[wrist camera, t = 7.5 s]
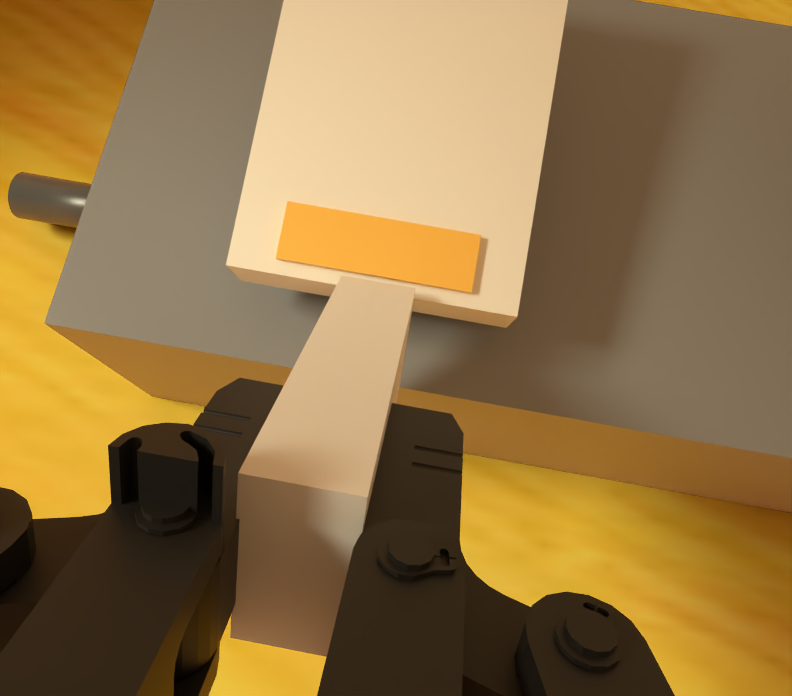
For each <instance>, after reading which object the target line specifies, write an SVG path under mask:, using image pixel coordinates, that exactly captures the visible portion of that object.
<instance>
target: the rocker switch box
mask: <svg viewBox="0 0 792 696" xmlns="http://www.w3.org/2000/svg"><path fill="white" fill-rule="evenodd" d="M283 1H284V0H154V3H153V6H152V9H151V12H150V14H149V17H148V20H147V23H146V26H145V29H144V32H143V35H142V38H141V41H140V44H139V47H138V50H137V53H136V56H135V59H134V61H133V64H132V67H131V70H130V73H129V76H128V79H127V82H126V85H125V88H124V91H123V94H122V97H121V100H120V103H119V106H118V108H117V111H116V114H115V117H114V120H113V123H112V126H111V129H110V132H109V135H108V138H107V141H106V144H105V147H104V150H103V153H102V155H101V158H100V161H99V164H98V167H97V170H96V173H95V176H94V179H93V182H92V184H87V183H81V182H76V181H70V180H64V179H59V178H53V177H47V176H42V175H36V174H30V173H24V172H21V173H18V174H17V175H16V176H15V177H14V178H13V180H12V181H11V184H10V187H9V192H8V202H9V206H10V209H11V211H12V213H13V214H14V215H15V216H16V217H18V218H23V219H28V220H34V221H40V222H45V223H51V224H57V225H62V226H68V227H74V228H77V229H76V232H75V235H74V238H73V241H72V244H71V247H70V249H69V252H68V255H67V258H66V261H65V264H64V267H63V270H62V273H61V276H60V279H59V282H58V285H57V288H56V291H55V294H54V296H53V299H52V302H51V305H50V308H49V311H48V314H47V317H46V320H45V324H46V325H48V326H49V327H51V328H52V329H53V330H55V331H56V332H58V333H59V334H61V335H62V336H64V337H65V338H67V339H68V340H70V341H71V342H73V343H74V344H76V345H77V346H78V347H80V348H81V349H83V350H84V351H86V352H87V353H89V354H90V355H92V356H93V357H95V358H96V359H98V360H99V361H101V362H102V363H104V364H105V365H106V366H108V367H109V368H111V369H112V370H114V371H115V372H117V373H118V374H120V375H121V376H123V377H124V378H126V379H127V380H129V381H130V382H131V383H133V384H134V385H136V386H137V387H139V388H140V389H142V390H143V391H145V392H146V393H148V394H149V395H151V396H153V397H159V398H164V399H170V400H175V401H181V402H186V403H192V404H197V405H203V406H207V404H208V403H209V401H210V400H211V398H212V397H213V395H214V394H215V393H216V391H217V390H219V389H221V388H222V387H224V386H226V385H228V384H229V383H231V382H233V381H235V380H236V379H238V378H245V379H250V380H256V381H261V382H267V383H272V384H278V385H283V386H284V384H285V383H286V381H287V379H288V377H289V375H290V373H291V371H292V369H293V367H294V365H295V363H296V362H297V360H298V358H299V356H300V354H301V352H302V350H303V348H304V346H305V344H306V342H307V341H308V339H309V337H310V335H311V333H312V331H313V329H314V327H315V325H316V323H317V321H318V319H319V318H320V316H321V314H322V312H323V310H324V308H325V306H326V304H327V302H328V300H329V298H330V297H329V296H324V295H318V294H312V293H307V292H301V291H296V290H290V289H284V288H279V287H273V286H268V285H262V284H256V283H251V282H245V281H241V280H240V279H239V278H238V277H237V276H236V275H235V274H234V273H233V272H232V271H231V270H230V269H229V268H228V267H227V266H226V262H227V257H228V253H229V248H230V244H231V239H232V234H233V230H234V225H235V221H236V216H237V212H238V207H239V202H240V198H241V193H242V189H243V184H244V179H245V175H246V170H247V166H248V161H249V157H250V152H251V147H252V143H253V138H254V134H255V129H256V124H257V120H258V115H259V111H260V106H261V102H262V97H263V92H264V88H265V83H266V79H267V74H268V69H269V65H270V60H271V56H272V51H273V47H274V42H275V37H276V33H277V28H278V24H279V19H280V14H281V10H282V5H283ZM397 404H400V405H406V406H412V407H417V408H423V409H428V410H434V411H439V412H445V413H450V414H452V415H453V417H454V418H455V420H456V422H457V423H458V425H459V427H460V428H461V430H462V432H463V433H464V437H463V453H466V454H472V455H477V456H483V457H488V458H494V459H499V460H505V461H510V462H516V463H521V464H526V465H532V466H537V467H543V468H548V469H554V470H559V471H565V472H570V473H576V474H581V475H587V476H592V477H598V478H603V479H609V480H614V481H620V482H625V483H631V484H636V485H642V486H647V487H653V488H658V489H664V490H669V491H675V492H680V493H686V494H691V495H697V496H702V497H708V498H713V499H719V500H724V501H729V502H735V503H740V504H746V505H751V506H757V507H762V508H768V509H773V510H779V511H784V512H790V513H792V27H791V26H785V25H779V24H773V23H767V22H761V21H755V20H749V19H743V18H737V17H731V16H725V15H719V14H713V13H707V12H701V11H695V10H689V9H683V8H677V7H671V6H665V5H659V4H653V3H647V2H641V1H635V0H568V4H567V10H566V16H565V22H564V29H563V35H562V41H561V47H560V54H559V60H558V66H557V72H556V79H555V85H554V91H553V97H552V104H551V110H550V116H549V122H548V129H547V135H546V141H545V147H544V154H543V160H542V166H541V172H540V179H539V185H538V191H537V197H536V204H535V210H534V216H533V222H532V229H531V235H530V241H529V247H528V254H527V260H526V266H525V272H524V279H523V285H522V291H521V297H520V304H519V310H518V316H517V318H516V319H515V320H514V321H513V322H512V323H511V324H510V325H509V326H508V327H507V328H504V327H498V326H492V325H487V324H481V323H476V322H470V321H464V320H459V319H453V318H447V317H442V316H436V315H431V314H425V313H419V312H414V311H412V314H411V320H410V326H409V332H408V338H407V344H406V350H405V356H404V362H403V368H402V374H401V380H400V386H399V392H398V398H397Z"/></svg>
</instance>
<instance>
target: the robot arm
mask: <svg viewBox="0 0 792 696" xmlns="http://www.w3.org/2000/svg"><path fill="white" fill-rule="evenodd" d="M415 290H416V288H411V287H405V286H400V285H394V284H388V283H382V282H377V281H371V280H365V279H360V278H354V277H348V276H343V275H342V276H341V277H340V279H339V281H338V283H337V285H336V287H335V289H334V291H333V293H332V295H331V297H330V298H329V300H328V302H327V304H326V306H325V308H324V310H323V312H322V314H321V316H320V318H319V319H318V321H317V323H316V325H315V327H314V329H313V331H312V333H311V335H310V337H309V339H308V341H307V342H306V344H305V346H304V348H303V350H302V352H301V354H300V356H299V358H298V360H297V362H296V363H295V365H294V367H293V369H292V371H291V373H290V375H289V377H288V379H287V381H286V383H285V384H284V386H283V385H278V384H272V383H267V382H261V381H256V380H250V379H245V378H238V379H236V380H235V381H233V382H231V383H229V384H228V385H226V386H224V387H222V388H221V389H219V390H217V391H216V393H215V394H214V395H213V397H212V398H211V400H210V401H209V403H208V404H207V406H206V407H205V408H204V412H203V413H201V414H200V416H199V417H198V419H197V420H196V421H195V423H194V426H192V425H189V424H179V423H160V424H153V425H146V426H142V427H139V428H137V429H134V430H131V431H129V432H126V433H124V434H122V435H121V436H120V437H118V438H117V439H116V440H114V441H113V442H112V443H111V444H109V445H108V451H109V469H110V486H111V504H110V506H109V507H108V509H107V510H106V511H105V513H102V514H98V515H91V516H83V517H69V518H48V519H32V512H31V510H30V507H29V504H28V502H27V499H25V498H24V497H22V496H21V495H19V494H18V493H16V492H15V491H13V490H10V489H6V488H1V487H0V696H208V695H209V692H210V690H211V687H212V685H213V682H214V680H215V677H216V674H217V668H218V662H219V646H220V640H221V638H222V635H223V633H224V630H225V628H226V625H227V623H228V621H229V618H230V616H231V613H232V616H231V637H230V638H235V639H240V640H246V641H251V642H256V643H261V644H266V645H271V646H276V647H281V648H286V649H291V650H296V651H301V652H306V653H312V654H317V655H322V656H327V658H326V662H325V666H324V670H323V674H322V678H321V682H320V687H319V691H318V695H317V696H675V695H674V693H673V692H672V690H671V688H670V686H669V684H668V682H667V680H666V678H665V676H664V674H663V673H662V671H661V669H660V667H659V665H658V663H657V661H656V659H655V657H654V655H653V653H652V652H651V650H650V648H649V646H648V644H647V642H646V640H645V639H644V637H643V636H642V635H641V633H640V632H639V631H638V629H637V628H636V627H635V625H634V624H633V623H632V621H631V620H629V619H628V618H627V617H626V616H624V615H623V614H622V613H620V612H619V611H618V610H617V609H615V608H614V607H613V606H611V605H609V604H607V603H605V602H603V601H600V600H598V599H596V598H594V597H591V596H589V595H584V594H577V593H571V592H562V593H556V594H550V595H546V596H545V597H543V598H542V599H540V600H539V601H538V602H536V603H535V604H533V605H532V607H529V606H527V605H525V604H522V603H520V602H518V601H516V600H514V599H512V598H510V597H507V596H505V595H503V594H502V593H500V592H498V591H496V590H495V589H493V588H491V587H489V586H488V585H487V584H486V583H484V582H483V581H482V580H481V579H480V578H479V577H477V576H476V575H475V573H474V572H473V571H472V570H471V568H470V567H469V566H468V565H467V563H466V561H465V559H464V557H463V554H462V552H461V547H460V540H459V539H460V514H461V488H462V463H463V458H462V456H463V437H464V433H463V432H462V430H461V428H460V427H459V425H458V423H457V422H456V420H455V418H454V417H453V415H452V414H450V413H445V412H439V411H434V410H428V409H423V408H417V407H412V406H406V405H400V404H397V398H398V392H399V386H400V380H401V374H402V368H403V362H404V356H405V350H406V344H407V338H408V332H409V326H410V320H411V314H412V308H413V302H414V296H415Z"/></svg>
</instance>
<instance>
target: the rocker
mask: <svg viewBox="0 0 792 696" xmlns="http://www.w3.org/2000/svg"><path fill="white" fill-rule="evenodd" d="M567 4H568V0H284V1H283V5H282V10H281V14H280V19H279V24H278V28H277V33H276V37H275V42H274V47H273V51H272V56H271V60H270V65H269V69H268V74H267V79H266V83H265V88H264V92H263V97H262V102H261V106H260V111H259V115H258V120H257V124H256V129H255V134H254V138H253V143H252V147H251V152H250V157H249V161H248V166H247V170H246V175H245V179H244V184H243V189H242V193H241V198H240V202H239V207H238V212H237V216H236V221H235V225H234V230H233V234H232V239H231V244H230V248H229V253H228V257H227V262H226V266H227V267H228V268H229V269H230V270H231V271H232V272H233V273H234V274H235V275H236V276H237V277H238V278H239V279H240V280H241V281H245V282H251V283H256V284H262V285H268V286H273V287H279V288H284V289H290V290H296V291H301V292H307V293H312V294H318V295H324V296H329V297H331V295H332V293H333V291H334V289H335V287H336V285H337V283H338V281H339V279H340V277H341V276H342V275H343V276H348V277H354V278H360V279H365V280H371V281H377V282H382V283H388V284H394V285H400V286H405V287H411V288H416V290H415V296H414V302H413V308H412V311H414V312H419V313H425V314H431V315H436V316H442V317H447V318H453V319H459V320H464V321H470V322H476V323H481V324H487V325H492V326H498V327H504V328H507V327H508V326H509V325H510V324H511V323H512V322H513V321H514V320H515V319H516V318H517V316H518V310H519V304H520V297H521V291H522V285H523V279H524V272H525V266H526V260H527V254H528V247H529V241H530V235H531V229H532V222H533V216H534V210H535V204H536V197H537V191H538V185H539V179H540V172H541V166H542V160H543V154H544V147H545V141H546V135H547V129H548V122H549V116H550V110H551V104H552V97H553V91H554V85H555V79H556V72H557V66H558V60H559V54H560V47H561V41H562V35H563V29H564V22H565V16H566V10H567Z"/></svg>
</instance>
